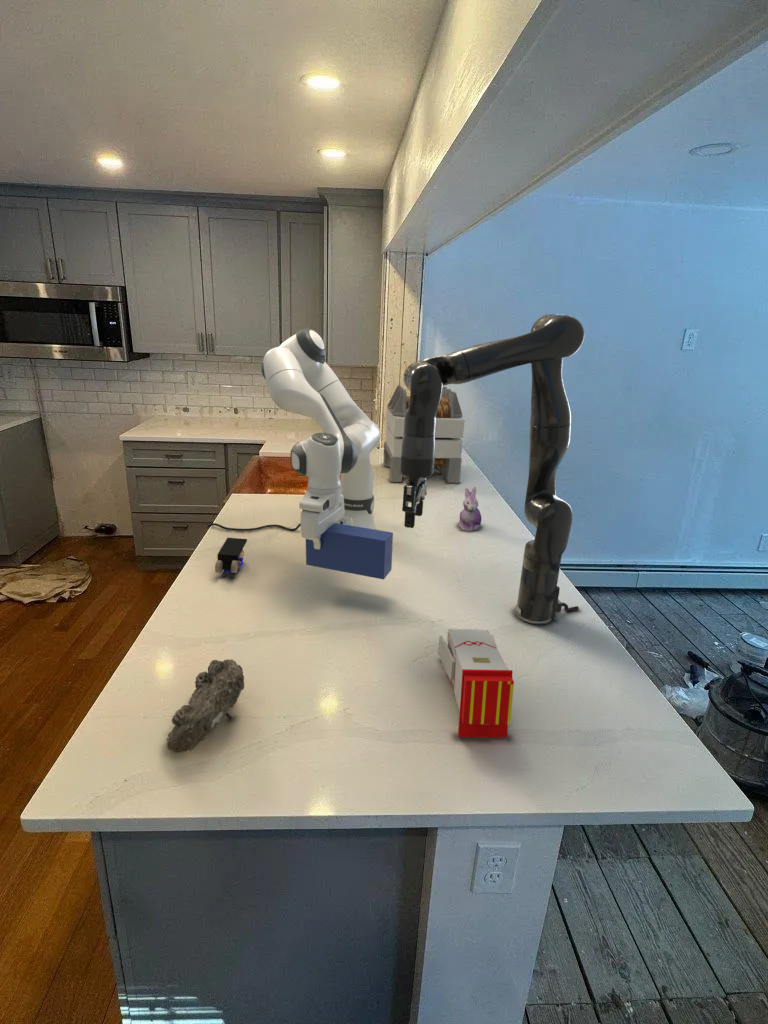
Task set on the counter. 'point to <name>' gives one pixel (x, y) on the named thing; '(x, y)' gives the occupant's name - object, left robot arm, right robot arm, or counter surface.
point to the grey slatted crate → (445, 435)
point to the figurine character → (230, 556)
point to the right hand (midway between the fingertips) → (413, 521)
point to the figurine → (470, 512)
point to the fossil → (206, 705)
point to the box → (353, 551)
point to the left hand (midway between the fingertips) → (324, 543)
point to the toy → (478, 682)
